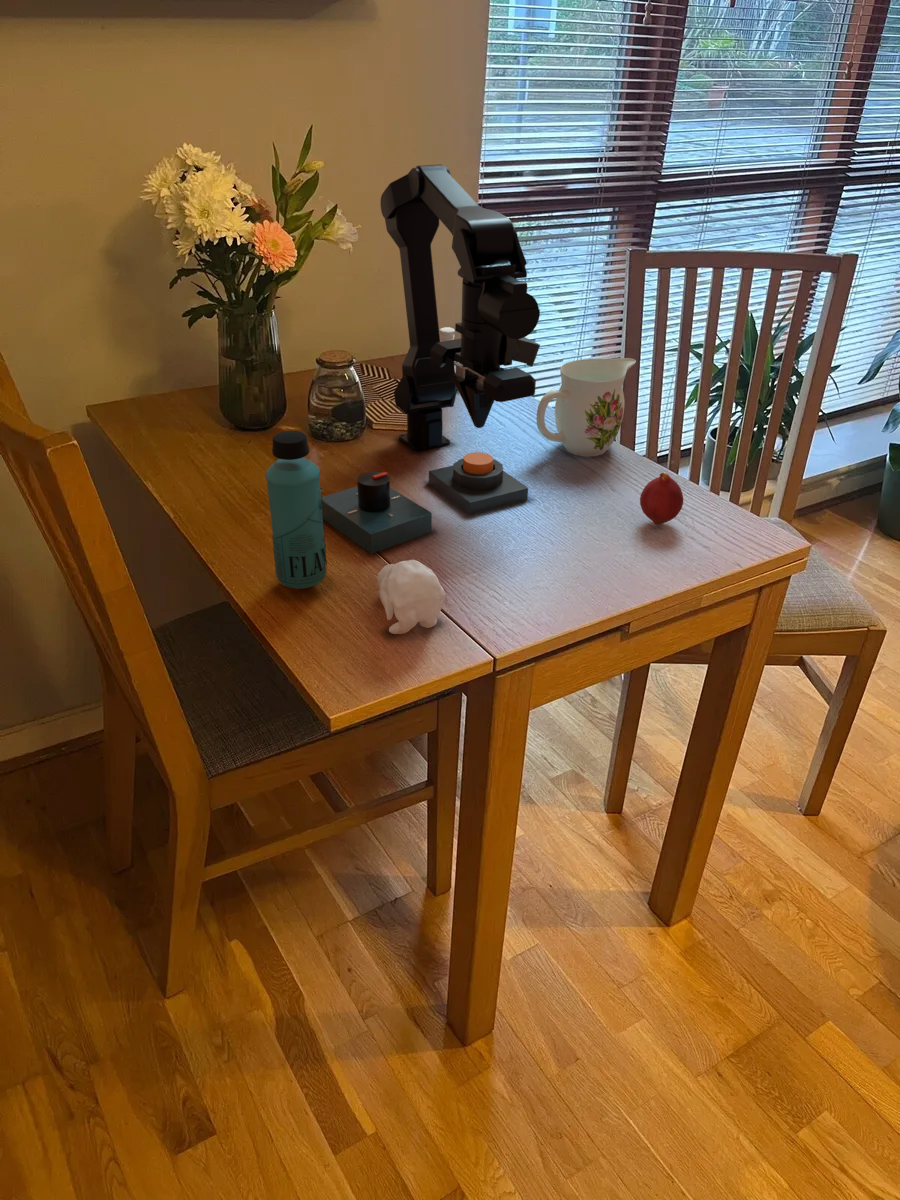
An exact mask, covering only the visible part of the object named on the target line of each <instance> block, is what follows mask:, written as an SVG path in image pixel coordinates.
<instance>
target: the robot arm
mask: <svg viewBox="0 0 900 1200" xmlns="http://www.w3.org/2000/svg"><path fill="white" fill-rule="evenodd" d="M451 175H452V174H451V172H450V169H449V167H448V166H446V165H443V164H441V163H440V164H439V163H438V164H423V165H422V164H419V165H416V166H415V167H412V168H411V169H410V170H409V171H408V173H406V174H405V175H402V176H401V177H399V178H397V179H395V180H393V181H391V182H390V183H389V184H388V185H387V187H386V188H385V189H384V191H383V192H382V194H381V195H380V201H379V202H380V203H379V204H380V205H379V206H380V212H381V215H382V217H383V219H384V222H385V228H386V232H387V234H388V235H389V236H390V238H391V239H392V241H393V242H394V243H395V245H396V246H397V247H398V249H399V257H400V266H401V275H402V284H403V293H404V294H403V295H404V304H405V311H406V321H407V331H408V338H409V348H408V350H407V353H406V355H405V357H404V360H403V362H402V365H401V371H402V372H401V373H402V376H401V378H400V380H399V382H398V384H397V386H396V387H395V389H394V391H393V395H394V403H395V407H397V408H398V409H400V410H401V411H402V412H403V413H404V414H405V415H406V429H407V430H406V432H405V433H402V434H399V435H398V439H399V440H401V441H402V442H403V443H405V444H406V445H407V446H409V447H410V448H411V449H413V450H414V451H416V452H421V451H425V450H430V449H434V448H439V447H442V446H447V445H451V440H450V439H449V438H447V437H446V436H444V435H443V430H444V429H443V425H444V424H443V409H445V408H454V406H455V402H456V397H457V393H459V395H460V397H461V399H462V401H463V403H464V406H465V408H466V410H467V412H468V415H469V417H470V419H471V421H472V423H473V426H474V427H475V428H477V429H481V428H484V427H485V425H486V422H487V419H488V417H489V414H490V412H491V409H492V407H493V405H494V403H495V402H496V403H497V402H499V403H505V402H509V401H515V400H519V399H524V398H530V397H534V396H535V394H536V386H537V384H536V383H537V380H536V379H535V378H534V376H532V375H531V374H530V373H528V372H527V371H525V370H522V369H521V368H519V367H517V366H516V367H511V368H504V367H508V366H512V365H513V362H518V363H522V364H525V365H526V366H528V367H533V366H534V364H535V361H536V359H537V355H538V353H539V350H540V347H541V344H540V343H538V342H536V341H534V340H532V339H529V337H527V336H529V335H530V334H531V333H533V331H534V330H535V329H536V327H537V326H538V323H539V320H540V316H541V309H540V308H539V303H538V301H537V299H536V298H535V297H534V296H533V295H532V294H530V293H528V283H527V282H526V281H524V280H518V279H526V278H527V277H528V272H527V269H526V265H527V263H528V261H527V260H526V257H525V254H524V252H523V251H524V250H523V249H522V246H521V243H520V240H519V236H518V233H517V229H516V228H515V226H514V224H513V222H512V220H510V219H509V217H508V216H506V215H504V214H502V213H500V212H499V211H497V210H493V209H489V208H484V207H482V206H480V205H479V204H478V203H477V202H476V201H475V200H474V199H473V198H472V197H471V195H469V193H468V192H467V191H466V190H465V189H464V188H463V187H462V186H461V185H460V184H459V183H458V182H457V181H456V179H454V178H453V177H452V176H451ZM440 222H441V223H442V224H443V225H444V227H445V228H446V229H447V230H448V231H449V232H450V234H451V235H452V241H451V249H452V251H453V253H454V255H455V257H456V259H457V262H458V264H459V267H460V268H459V269H458V270H457V276H458V277H460V278H462V282H461V283H462V284H461V289H462V291H461V295H462V296H461V322H456V323H454V324H455V325H454V326H455V327H454V330H455V332H456V333H458V334H460V338H457V339H456V338H454V340H449V341H443V342H440V331H439V330H440V325H439V316H438V315H439V314H438V304H437V295H436V285H435V284H436V283H435V276H434V274H435V273H434V263H433V257H432V256H433V254H432V243H433V240H434V238H435V236H436V234H437V231H438V229H439V227H440ZM454 361H455V362H454ZM454 365H455V366H456V373H455V368H454ZM501 366H504V367H501Z"/></svg>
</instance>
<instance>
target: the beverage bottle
mask: <svg viewBox="0 0 900 1200" xmlns="http://www.w3.org/2000/svg"><path fill="white" fill-rule="evenodd" d="M271 451H272V455H273V457H274V458H276V459H277V460H276V461H274V462H273V463H272V464H271V465H270V466H269V467H268V468H267V470H266V471H265V479H266V486H267V494H268V503H269V510H270V511H269V513H270V521H271V533H272V535H271V536H272V538H271V539H272V548H273V557H274V559H273V560H274V567H275V568H274V569H275V576H276V578H277V581H278V582H279V583H280V584H281V585H283V586H285V587H287V588H291V589H309V588H312V587H315V586H317V585H319V584H320V583H322V582H323V581H324V580H325V578H326V575H327V572H328V570H329V569H328V567H327V566H328V560H327V555H328V554H327V552H326V547H327V546H326V538H325V537H326V534H325V531H326V529H325V527H324V521H325V520H324V519H323V516H324V515H323V516H322V508H323V505H322V504H323V503H322V502H321V500H322V499H321V498H322V497H323V496H322V489H323V488H322V487H321V481H320V480H321V479H320V474H321V472H320V468H319V466H317V465H316V464H315V463H314V462H313V461H311V460H310V459H308V458H306V457H307V456H308V455H309V454H310V447H309V443H308V436H307V435H306V434H305V433H304V432H302V431H298V430H285V431H280V432H278V433H276V434H274V435H273V436H272V449H271ZM322 501H323V500H322ZM323 512H324V511H323Z"/></svg>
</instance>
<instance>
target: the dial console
mask: <svg viewBox="0 0 900 1200" xmlns="http://www.w3.org/2000/svg"><path fill="white" fill-rule="evenodd" d="M321 499H322V500H323V501H322V500H321V502H322V503H323V504H322V505H323V508H322V516H323V515H324V516H323V519H324V520H323V521H324V522H326V523H327V524H329V525H330V526H332V527H333V528H335V529H336V530H337V531H338V532H340V533H342V535H344V536H346V537H347V538H349V539H350V540H351V541H353V542H354V543H356V544H357V545H359V546H360V547H361V548H362V549H364V550H366V551H367V552H368V553H369V554H371V555H373V554H374V553H378V552H381V551H384V550H386V549H388V548H391V547H394V546H396V545H397V546H398V545H399V544H400V545H401V544H402V543H405V542H409V541H410V540H413V539H417V538H418V537H422V536H424V535H426V534H430V533H432V530H433V529H432V527H433V522H432V520H433V519H432V517H433V516H432V513H433V512H431V511H429V510H428V509H427V508H424V507H423V506H421V505H419V504H418V503H417V502H415V501H413V500H411V499H410V498H408V497H406V496H405V495H403V494H402V493H401V492H399V491H397V490H395V489H394V488H392V487H390V507H389V508H388V509H386V510H384V511H381V512H367V511H364V510H362V509H360V508H359V506H358V486H357V485H356V486H353V487H350V488H346V489H344V490H341V491H337V492H334V493H330V494H328V495H325V496H322V498H321ZM323 511H324V512H323Z"/></svg>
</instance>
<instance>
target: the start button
mask: <svg viewBox="0 0 900 1200" xmlns="http://www.w3.org/2000/svg"><path fill="white" fill-rule="evenodd" d="M462 459H463V470H464V471H465V472H468V473H472V474H487V473H491V472H492V471H493V459H494V457H493V456H492V455H491V454H489V453H486V452H481V451H477V452H469V453H466V454H465V455H464V456H463V458H462Z"/></svg>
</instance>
